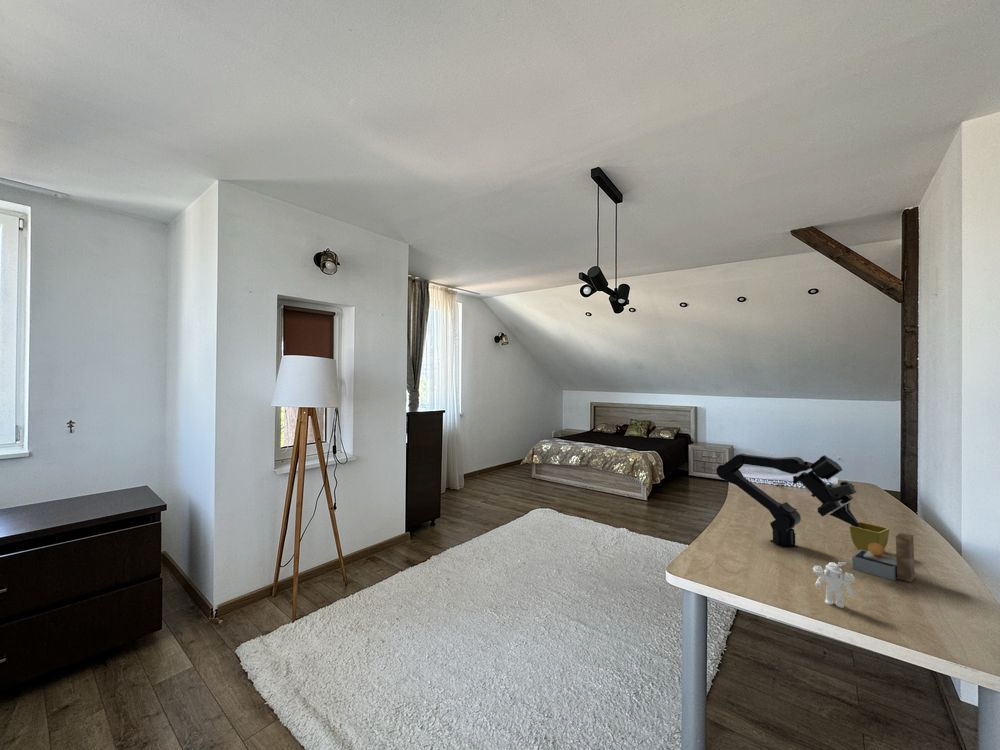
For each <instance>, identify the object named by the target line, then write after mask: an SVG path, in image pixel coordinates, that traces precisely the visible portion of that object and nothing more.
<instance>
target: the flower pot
mask: <svg viewBox="0 0 1000 750" xmlns="http://www.w3.org/2000/svg"><path fill="white" fill-rule="evenodd" d="M858 523H859V524H860V526H859V527H855V526H853V525H851V524H849V525H848V526H849V527H848V528H849V533H850V538H851V540H852V543H853V544H854V547H855V548H856V549H857V550H858V551H859V550H860V549H861V550H865V551H869V550H868V545H869V544H870V543H878V544H880V545H882V546H883V548H884V549H886V547H887V545H888V542H889V534H890V528H889V527H884V526H880V525H875V524H872V523H866V522H863V521H858Z"/></svg>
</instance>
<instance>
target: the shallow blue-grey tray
mask: <svg viewBox="0 0 1000 750" xmlns="http://www.w3.org/2000/svg"><path fill="white" fill-rule="evenodd" d="M866 552H867V551H865V550H861V549H860V550H858V551H857V552H856V553H855V554H853V555H852V557H851V562H852V564H851V565H852V568H851V569H852V570H856V571H860V572H863V573H866V574H869V575H872V576H873V575H874V576H877V577H880V578H883V579H886V580H890V581H896V580H897V579H898V578H897V566H896V565H893V564H889V563H885V562H881V561H877V560H873V559H870V558H866V557H863V555H864V554H865V553H866Z"/></svg>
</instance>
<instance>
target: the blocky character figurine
mask: <svg viewBox="0 0 1000 750" xmlns="http://www.w3.org/2000/svg"><path fill="white" fill-rule="evenodd" d="M847 563H848V562H847V561H844V562H843V561H841V562H840V561H838V562H837V563H835V562H833V561H831V562H829V563H828V564H826V565H825V569H823V567H822V566H820V565H813V567H812V570H813V571H812V573H813V574H815V575H816V576H817V577H818V578H817V580H816V582H815V583H814V585H815V588H819V587H821V586H822V582H823V581H825V582H826V586H825V589H826V590H825V600H824V603H825V604H827V605H830V606H831V605H834V601H833V594H834V593H835V605H836V607H838V608H842V609H843V608H845V604H844V601H843V592H842V588H841V587H842V586H843V585H844V586H845V588H846V590H845V594H847V593H848V595H849V596H848V597H849V598H853V596H854V592H853V590H852V587H851V585H850V584H852V583H854V584H856V581H855V580H856V578H855V577H854V574H852V573H849V572H844V575H843V574H842V572H843V570H842V569H841V568H840V567H843V566H845V565H847Z"/></svg>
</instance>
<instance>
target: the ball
mask: <svg viewBox="0 0 1000 750" xmlns="http://www.w3.org/2000/svg"><path fill="white" fill-rule="evenodd" d="M868 550H869V551H870V553H872V554H873V555H876V556H881V555H883V554H885V551H886V550H885V548H883V546H882V545H880V544H878V543H870V544H869V545H868Z"/></svg>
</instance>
